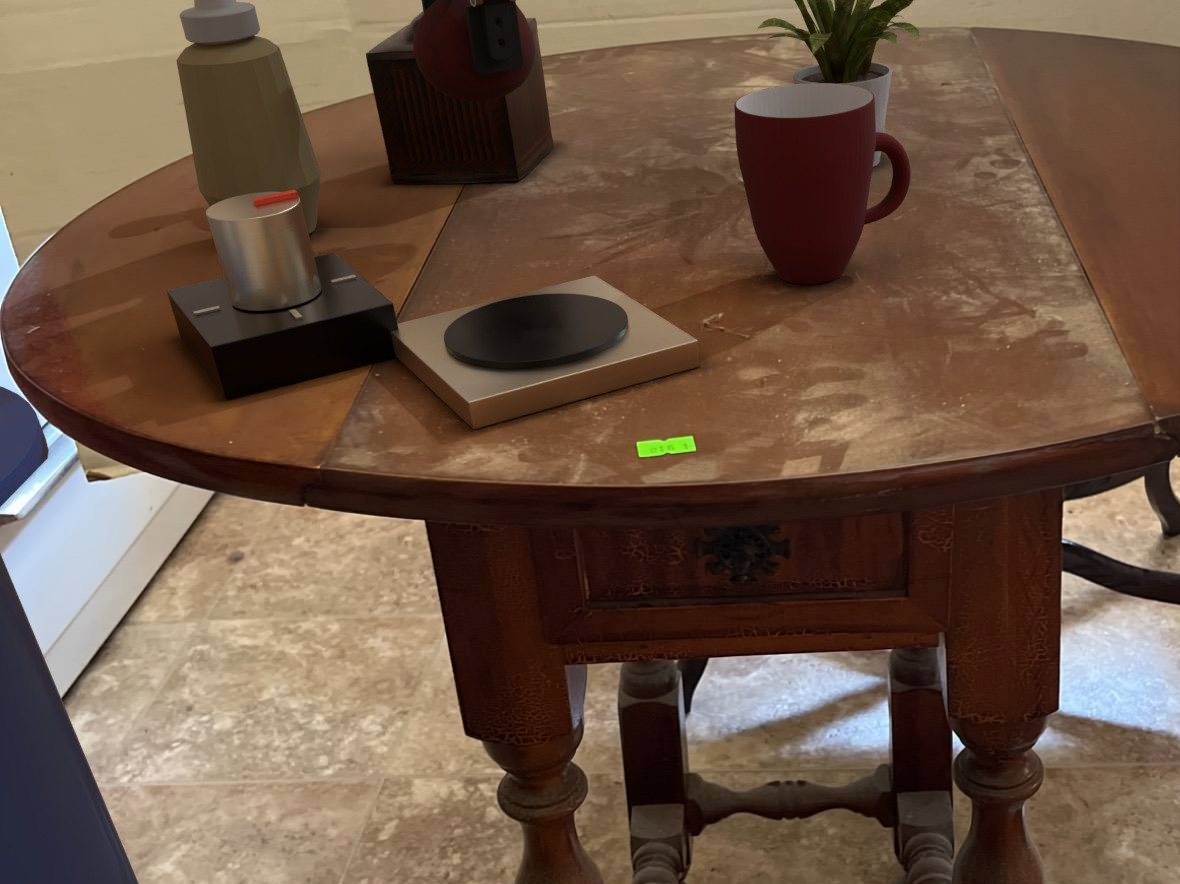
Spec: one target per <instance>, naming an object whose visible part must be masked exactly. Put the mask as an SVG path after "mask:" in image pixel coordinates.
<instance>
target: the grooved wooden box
mask: <svg viewBox="0 0 1180 884" xmlns="http://www.w3.org/2000/svg"><path fill="white" fill-rule="evenodd" d="M423 14H424V13H423V11H421V12H420V13H419V14H417V15H416V16H415V17H414V18H413V19H412V20H411V22H409V24H407V25H405V26H404V27H401V28H400V29H399V30H398V31H397V30H396V32H394V33H393V34H391V35H390V36H388V37H387V38H385V39H384V40H382V41H381V42H379V43H378V44H376V45H375V46H374V47H372V48H371V49H370V50H369V51H367V52H366V53H365V59H366V64H367V69H368V74H369V77H370V82H371V87H372V91H373V96H374V101H375V105H376V109H377V114H378V118H379V124H380V128H381V132H382V133H381V134H382V137H383V142H384V147H385V151H386V156H387V162H388V167H389V173H390V179H391V181H392V183H393V184H404V185H405V184H406V185H430V184H431V185H433V184H435V185H438V184H475V183H499V182H500V183H501V182H519V181H521V179H523V178H525V176H527V175H529V173H530V172H532V170H534V169H535V167H536V166H538V164H539V163H540V162H541V161H542V160H543V159H544V158H545V157H546V156H547V155H548V154H549V153H550V152H551V151H552V150H553V149H554V147H555V144H554V138H553V133H552V127H551V121H550V120H551V119H550V112H549V111H550V110H549V103H548V97H547V89H546V82H545V81H546V80H545V74H544V67H543V60H542V53H541V46H540V39H539V32H538V22H537V19H536V17H525V18H526V20H527V22H528V24H529V27H530V29H531V31H532V34H533V39H534V44H535V60H534V64H533V67H532V70H531V72H530V74H529V76H528V77H527V79H526V80H525V82H524V83H523V84H522V85H521V86H520V87H518V88H517V89H515V90H514V91H512V92H510V93H509V94H507V95H505V96H503V97H501V98H497V99H494V100H487V101H462V100H459V99H455V98H452V97H449V96H446V95H444V94H443V93H441V92H439V91H438V90H437V89H435V88H434V87H433V86H432V85H431V84H430V83H429V81H428V80H427V79H426V78H425V77H424V75H423V74H422V72H421V70H420V69H419V67H418V64H417V61H416V57H415V54H414V50H413V45H414V37H415V29H416V26H417V25H418V23H419V21H420V19H421V18H422V16H423Z"/></svg>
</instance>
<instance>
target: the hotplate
mask: <svg viewBox="0 0 1180 884" xmlns="http://www.w3.org/2000/svg"><path fill="white" fill-rule="evenodd" d="M397 324H398V329H399V330H395V331H391V337H392V341H393V346H394V351H395V355H396V357H395V358H397V359H398V360H399V361H400V362H401V363H402V364H403V365H404V366H405V367H406V368H407V369H408V370H409V371H410V372H412V373H413V375H415V376H416V377H417V378H418V379H419V380H420V381H421V382H422V383H423V384H425V386H426V387H427V388H429V389H430V390H431V391H432V392H433V393H434V394H435V395H436V396H437V397H438V398H439V399H440V400H441V401H443V402H444V403H445V405H447V406H448V407H449V408H450V409H451V410H452V412H454V413H455V414H456V415H458V416H459V418H461V420H463V421H464V422H465V423H466V424H467V425H468V426H469V427H470V428H472V430H478V429H482V428H484V427H488V426H492V425H495V424H498V423H502V422H506V421H510V420H513V419H517V418H520V417H524V416H527V415H531V414H534V413H538V412H542V411H545V410H548V409H552V408H555V407H559V406H563V405H567V404H570V403H573V402H578V401H581V400H585V399H588V398H591V397H592V398H593V397H595V396H598V395H602V394H603V395H604V394H606V393H610V392H613V391H617V390H621V389H623V388H627V387H631V386H634V385H635V386H636V385H638V384H641V383H645V382H648V381H653V380H656V379H659V378H663V377H666V376H670V375H674V374H678V373H681V372H684V371H689V370H692V369H696V368H699V367H700V366H701V362H700V350H699V341H698V339H697V338H695V337H693V336H691V334H689V333H687V332H686V331H684V330H683V329H681V328H679V327H677V326H676V325H674V324H673V323H671V322H669V320H667V319H665V318H663V317H662V316H660V315H658V314H657V313H655V312H653V311H652V310H651V309H649V308H647V307H646V306H644V305H643V304H641V303H639V302H638V301H636V300H635V299H633V298H632V297H630V296H628V295H627V294H625V293H623V292H622V291H621V290H619V289H617V288H616V287H614V286H613V285H611V284H609V283H608V282H606V281H604V280H603V279H601V277H598V276H596V275H591V276H587V277H582V278H579V279H573V280H570V281H566V282H562V283H557V284H554V285H550V286H545V287H542V288H539V289H533V290H529V291H526V292H521V293H517V294H512V295H508V296H505V297H501V298H496V299H493V300H488V301H484V302H480V303H476V304H472V305H468V306H463V307H460V308H456V309H451V310H448V311H443V312H440V313H436V314H432V315H431V314H430V315H427V316H423V317H419V318H416V319H410V320H407V321H403V322H399V323H398V322H397Z"/></svg>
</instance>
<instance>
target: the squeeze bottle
mask: <svg viewBox="0 0 1180 884" xmlns="http://www.w3.org/2000/svg"><path fill="white" fill-rule="evenodd" d="M193 5H194V6H193V7H189V8H187V9H184V10H182V11H181V12H180V13H179V19H180V22H181V26H182V30H183V34H184V38H185V40H186V41H188V42H189V43H191V44H190V45H188V46H186V47H184V49H183V50H182V51H181V53H180V54H179V56H178V57H177V58H176V66H177V70H178V71H177V72H178V78H179V82H180V83H179V84H180V87H181V94H182V98H183V99H182V100H183V106H184V111H185V117H186V122H187V128H188V134H189V135H188V136H189V140H190V146H191V151H192V158H193V162H194V163H193V164H194V168H195V173H196V180H197V185H198V190H199V192H200V194H201V196H202V197H203V199H204V200H205V203H207V205H208V208H209V207H210V206H212V205H214V204H216V203H218V202H220V201H223V200H225V199H228V198H232V197H236V196H240V195H245V194H251V193H259V192H285V191H290V190H296V191H297V192H298V197H299V198H300V201H301V205H302V209H303V213H304V217H305V221H306V226H307V230H308V234H309V235H310V234H311V233H313V232H314V231H315V230H316V229H317V223H318V211H319V209H318V208H319V197H320V184H321V173H322V171H321V169H320V166H319V163H318V160H317V156H316V154H315V151H314V147H313V144H312V142H311V139H310V135H309V133H308V129H307V127H306V124H305V120H304V118H303V114H302V111H301V108H300V105H299V102H298V99H297V96H296V94H295V91H294V87H293V84H292V81H291V78H290V76H289V72H288V69H287V66H286V63H285V60H284V57H283V54H282V51H281V48H280V46H278V45H277V44H276V43H274V42H272V41H271V40H270V39H268V38H266V37H261V36H258V34H259V33H260V31H261V27H260V23H259V18H258V15H257V11H256V6H255V5H254V4H253V3H250V2H246V1H245V2H244V1H237V0H193Z"/></svg>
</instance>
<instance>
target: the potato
mask: <svg viewBox="0 0 1180 884" xmlns="http://www.w3.org/2000/svg"><path fill="white" fill-rule="evenodd" d="M469 5H471V3H470V0H437V1H435V2H434V3H433V4H432V5H431V6H430V7H428V8H427V9H426V11H425V12H424V14H423V16H422V18H421V19H420V21H419V23H418V25H417V26H416V29H415V37H414V45H413V50H414V54H415V57H416V61H417V64H418V67H419V69H420V70H421V72H422V74H423V75H424V77H425V78H426V79H427V80H428V81H429V83H430V84H431V85H432V86H433V87H434V88H435V89H437V90H438V91H439V92H441V93H443V94H444V95H446V96H449V97H452V98H455V99H459V100H462V101H487V100H494V99H497V98H501V97H503V96H505V95H507V94H509V93H510V92H512V91H514V90H515V89H517V88H518V87H520V86H521V85H522V84H523V83H524V82H525V80H526V79H527V77H528V76H529V74H530V72H531V70H532V67H533V64H534V60H535V44H534V39H533V34H532V31H531V29H530V27H529V24H528V22H527V20H526V18H527V17H526V16H525V14H524V13H523V11H522V10H521V9H520V7H519V6H518V4H517V3H516V9H517V16H518V24H519V32H520V40H521V48H522V55H523V67H522V68H521V69H519V70H514V71H508V72H501V73H495V74H489V75H480V74H478V73H476V72H475V70H474V66H473V59H472V52H471V45H470V39H469V32H468V25H467V18H466V11H465V6H469Z"/></svg>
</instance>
